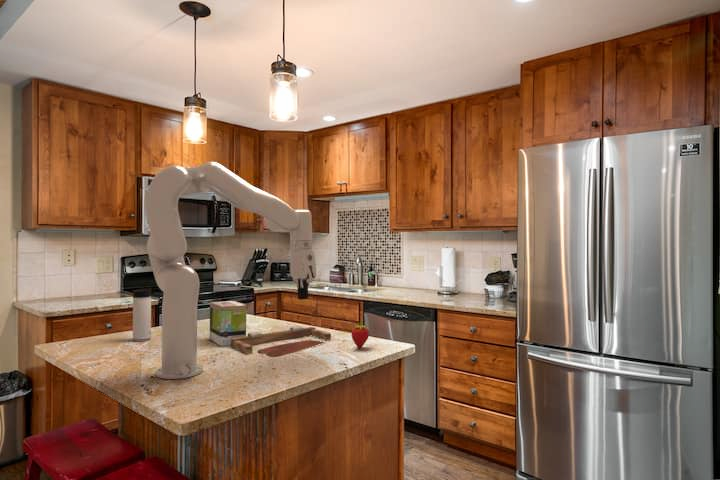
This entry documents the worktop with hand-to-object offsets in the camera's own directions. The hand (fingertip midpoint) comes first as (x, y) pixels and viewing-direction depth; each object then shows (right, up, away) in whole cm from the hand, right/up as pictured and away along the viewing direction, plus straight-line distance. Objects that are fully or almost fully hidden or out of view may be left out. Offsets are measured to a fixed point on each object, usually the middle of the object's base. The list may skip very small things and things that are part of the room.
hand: (303, 298), depth 151 cm
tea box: (-31, -19, +17) cm, 40 cm away
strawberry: (+20, -19, +7) cm, 28 cm away
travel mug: (-64, -19, +18) cm, 69 cm away
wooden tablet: (-4, -20, +8) cm, 21 cm away
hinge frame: (-9, -19, +14) cm, 25 cm away
